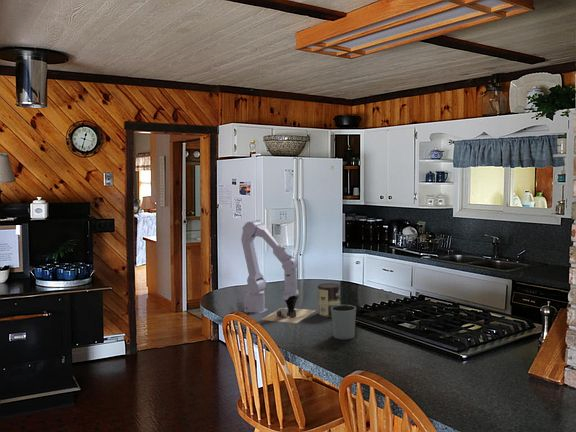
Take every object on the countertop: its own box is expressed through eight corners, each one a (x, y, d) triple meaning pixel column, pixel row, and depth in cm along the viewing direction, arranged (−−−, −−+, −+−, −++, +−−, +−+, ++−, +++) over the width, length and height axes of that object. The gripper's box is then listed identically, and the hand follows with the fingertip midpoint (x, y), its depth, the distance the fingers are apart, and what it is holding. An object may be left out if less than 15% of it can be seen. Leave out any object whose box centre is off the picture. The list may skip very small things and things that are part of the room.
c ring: (281, 313, 271) (281, 308, 270) (299, 314, 267) (299, 309, 267) (276, 316, 265) (275, 311, 264) (293, 318, 261) (293, 313, 261)
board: (260, 320, 260) (260, 319, 260) (282, 308, 282) (281, 307, 282) (296, 324, 253) (296, 323, 253) (316, 311, 275) (316, 310, 275)
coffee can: (341, 312, 272) (340, 283, 271) (338, 318, 262) (338, 287, 261) (319, 311, 274) (319, 282, 273) (316, 317, 264) (316, 287, 263)
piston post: (280, 318, 262) (279, 308, 262) (282, 316, 265) (282, 306, 265) (286, 318, 261) (286, 308, 260) (289, 316, 264) (289, 307, 263)
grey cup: (358, 333, 237) (358, 305, 236) (353, 341, 227) (352, 311, 226) (334, 332, 240) (334, 304, 239) (328, 339, 231) (328, 309, 230)
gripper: (292, 286, 260) (293, 316, 262) (304, 280, 274) (304, 308, 275) (278, 286, 263) (279, 314, 264) (290, 280, 276) (291, 307, 278)
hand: (291, 311), depth 270 cm, fingers closed
